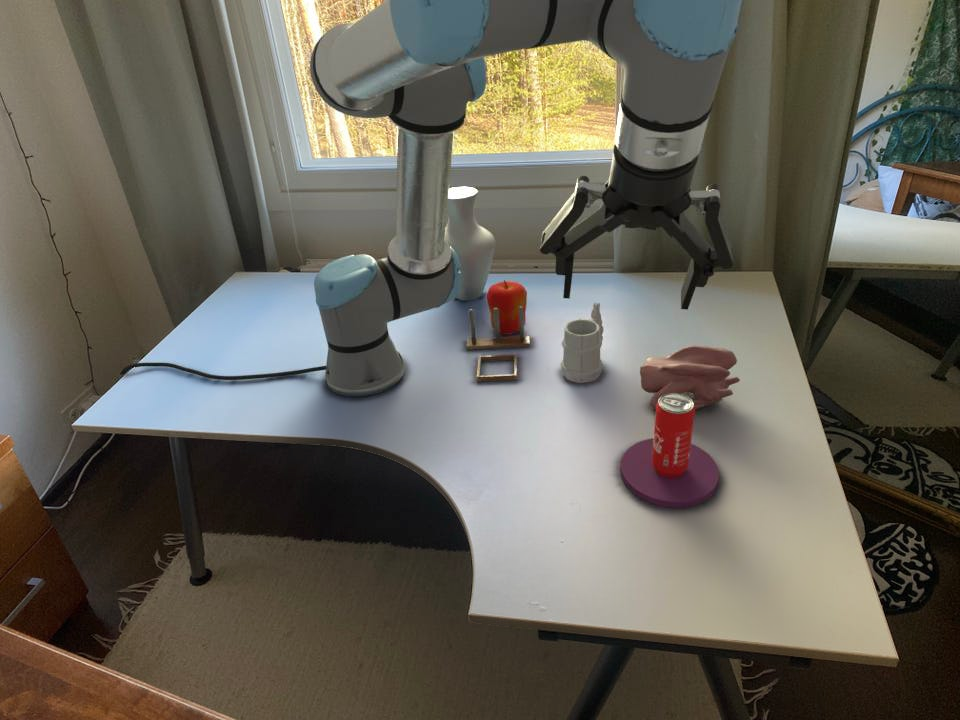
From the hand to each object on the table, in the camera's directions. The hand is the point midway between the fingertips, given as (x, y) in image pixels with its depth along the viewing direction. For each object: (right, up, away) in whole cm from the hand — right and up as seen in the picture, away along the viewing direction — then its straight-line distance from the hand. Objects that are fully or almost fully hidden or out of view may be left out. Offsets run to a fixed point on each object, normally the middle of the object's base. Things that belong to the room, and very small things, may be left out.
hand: (625, 295), depth 74 cm
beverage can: (+11, -24, +19) cm, 32 cm away
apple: (-11, -1, +60) cm, 61 cm away
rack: (-14, -8, +50) cm, 53 cm away
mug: (+3, -9, +46) cm, 47 cm away
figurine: (+19, -15, +35) cm, 42 cm away
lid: (+11, -25, +20) cm, 33 cm away
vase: (-20, +8, +76) cm, 79 cm away
